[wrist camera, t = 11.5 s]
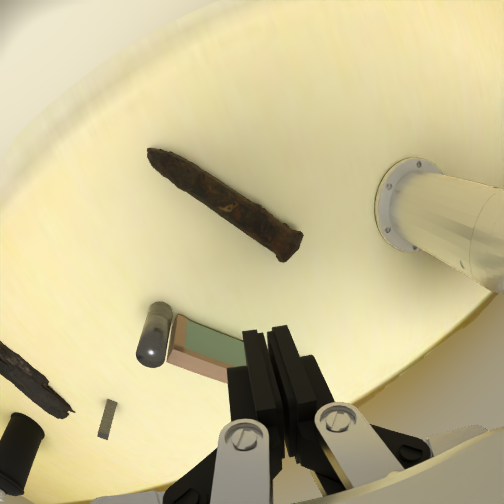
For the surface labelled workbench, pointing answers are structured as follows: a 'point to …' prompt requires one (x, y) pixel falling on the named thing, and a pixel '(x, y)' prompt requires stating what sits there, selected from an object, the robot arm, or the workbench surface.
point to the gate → (204, 350)
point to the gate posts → (145, 352)
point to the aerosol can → (18, 453)
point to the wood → (31, 383)
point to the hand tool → (227, 203)
